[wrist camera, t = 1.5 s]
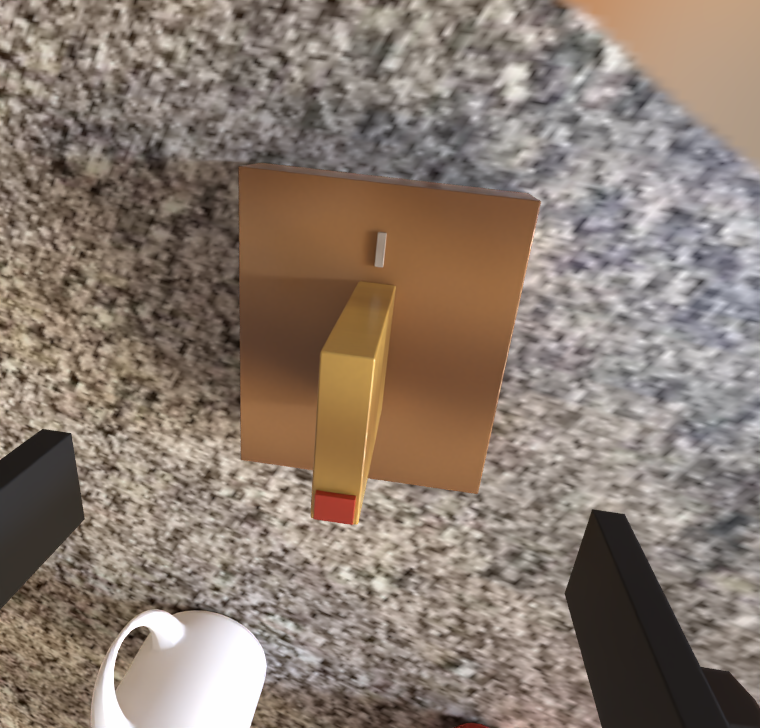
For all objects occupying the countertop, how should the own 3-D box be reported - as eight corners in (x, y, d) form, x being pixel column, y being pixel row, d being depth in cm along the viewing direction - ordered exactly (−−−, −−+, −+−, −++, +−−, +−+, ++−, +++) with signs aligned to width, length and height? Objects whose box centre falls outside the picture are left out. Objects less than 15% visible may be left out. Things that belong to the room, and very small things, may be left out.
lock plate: (260, 162, 24) (236, 166, 21) (529, 193, 23) (542, 201, 20) (258, 429, 29) (239, 461, 26) (474, 460, 29) (478, 496, 26)
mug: (222, 557, 33) (132, 732, 24) (287, 685, 38) (234, 878, 28) (107, 576, 35) (-21, 747, 25) (182, 696, 39) (97, 882, 30)
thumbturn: (358, 280, 22) (317, 354, 15) (396, 285, 22) (374, 361, 15) (347, 405, 25) (308, 523, 17) (381, 409, 25) (356, 530, 17)
